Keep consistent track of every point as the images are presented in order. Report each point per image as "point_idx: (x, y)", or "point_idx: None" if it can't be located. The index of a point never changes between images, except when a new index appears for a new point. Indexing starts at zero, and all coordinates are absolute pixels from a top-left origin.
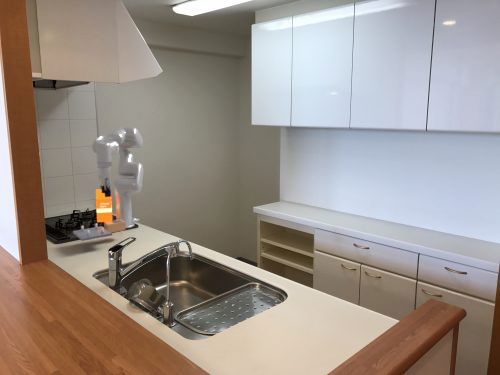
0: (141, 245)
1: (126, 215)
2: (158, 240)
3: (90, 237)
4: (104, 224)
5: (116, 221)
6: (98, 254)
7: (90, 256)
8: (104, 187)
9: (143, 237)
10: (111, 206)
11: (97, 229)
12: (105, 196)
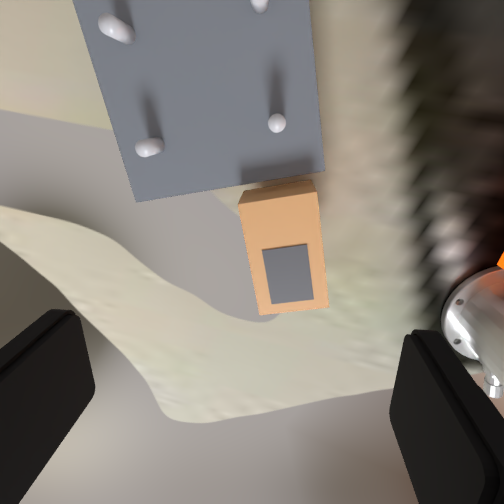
0: (150, 300)
1: (495, 361)
2: (190, 370)
3: (88, 46)
4: (307, 189)
5: (290, 272)
6: (82, 94)
7: (62, 46)
8: (448, 497)
9: (256, 335)
10: None
11: (257, 126)
12: (50, 320)
